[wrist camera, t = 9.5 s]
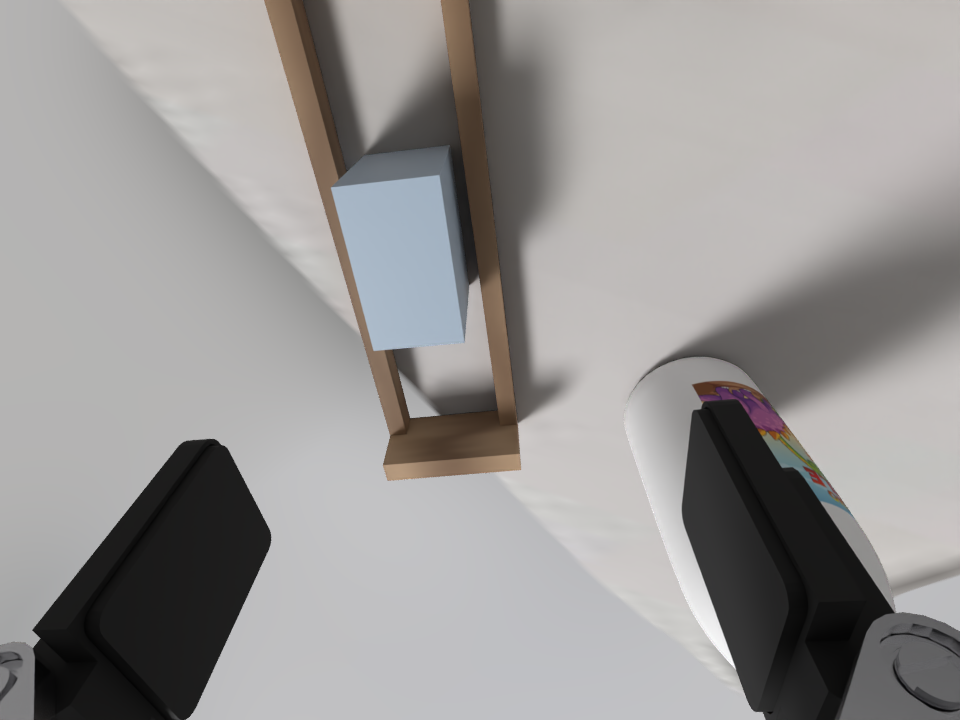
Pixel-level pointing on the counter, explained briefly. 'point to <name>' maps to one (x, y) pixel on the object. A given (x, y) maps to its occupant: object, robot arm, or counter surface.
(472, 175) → the bottom track
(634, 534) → the counter surface
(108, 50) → the counter surface
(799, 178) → the counter surface
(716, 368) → the milk bottle
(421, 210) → the pale blue upright box
